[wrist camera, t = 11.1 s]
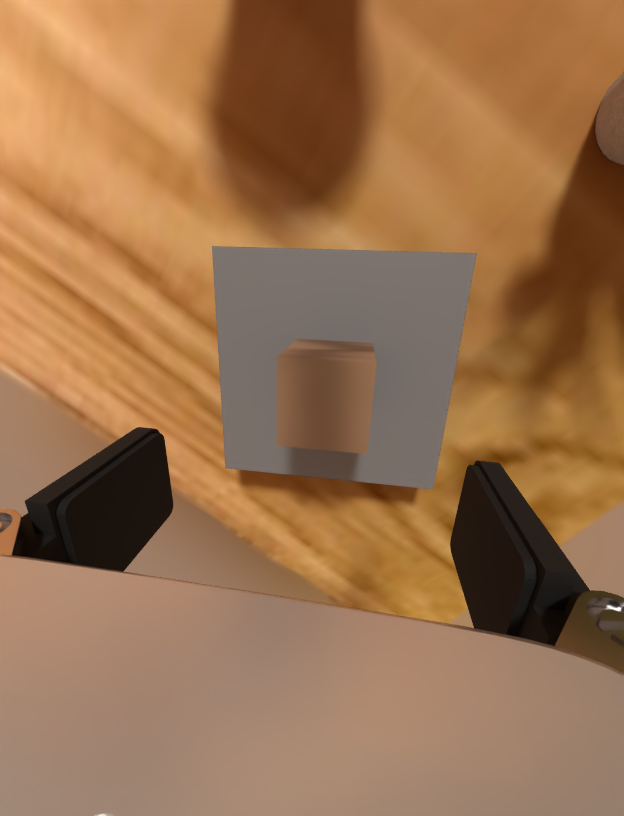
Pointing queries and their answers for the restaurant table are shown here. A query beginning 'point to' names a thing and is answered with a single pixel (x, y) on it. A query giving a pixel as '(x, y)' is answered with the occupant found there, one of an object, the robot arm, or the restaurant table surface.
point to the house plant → (612, 122)
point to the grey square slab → (351, 322)
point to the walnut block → (325, 395)
